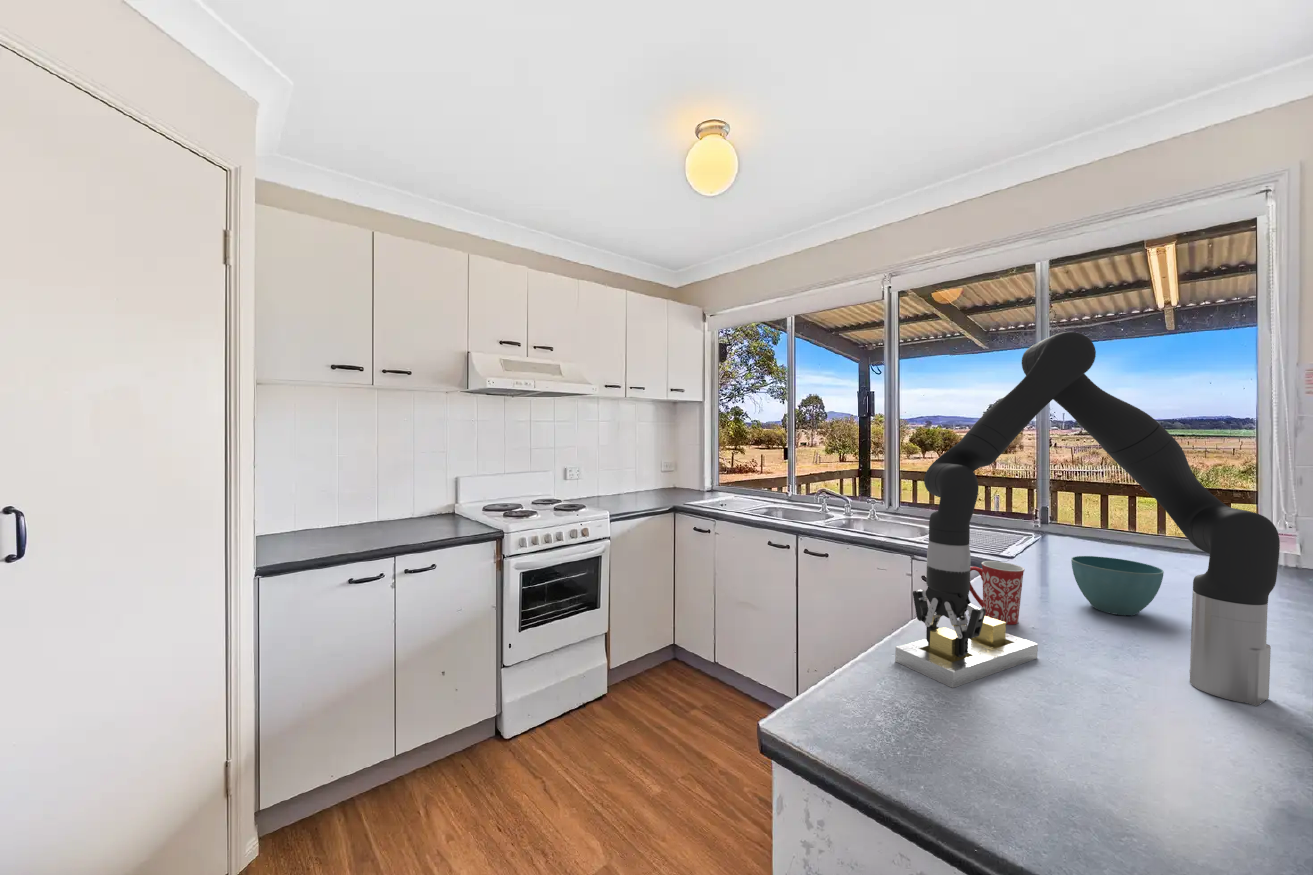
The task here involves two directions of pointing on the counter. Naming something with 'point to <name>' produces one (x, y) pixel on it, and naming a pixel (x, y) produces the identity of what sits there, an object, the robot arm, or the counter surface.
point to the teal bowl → (1116, 583)
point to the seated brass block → (992, 633)
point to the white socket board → (966, 660)
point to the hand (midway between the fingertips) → (946, 650)
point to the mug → (1000, 590)
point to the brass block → (944, 644)
